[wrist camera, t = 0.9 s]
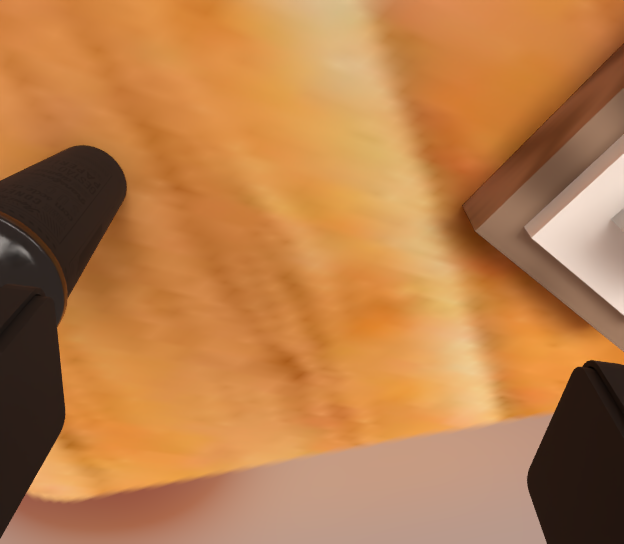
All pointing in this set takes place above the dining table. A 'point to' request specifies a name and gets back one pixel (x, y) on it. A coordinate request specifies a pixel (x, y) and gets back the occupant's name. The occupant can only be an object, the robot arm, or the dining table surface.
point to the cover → (589, 226)
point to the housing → (555, 190)
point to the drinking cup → (57, 219)
